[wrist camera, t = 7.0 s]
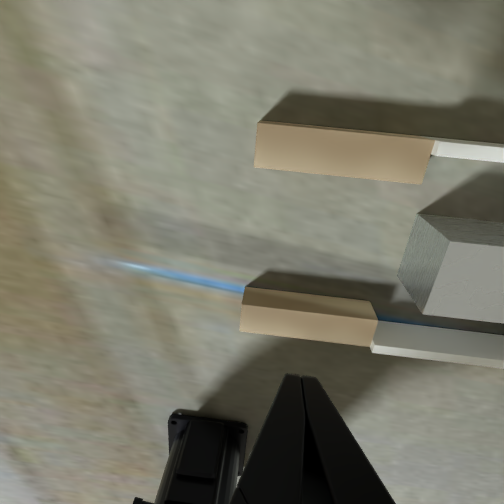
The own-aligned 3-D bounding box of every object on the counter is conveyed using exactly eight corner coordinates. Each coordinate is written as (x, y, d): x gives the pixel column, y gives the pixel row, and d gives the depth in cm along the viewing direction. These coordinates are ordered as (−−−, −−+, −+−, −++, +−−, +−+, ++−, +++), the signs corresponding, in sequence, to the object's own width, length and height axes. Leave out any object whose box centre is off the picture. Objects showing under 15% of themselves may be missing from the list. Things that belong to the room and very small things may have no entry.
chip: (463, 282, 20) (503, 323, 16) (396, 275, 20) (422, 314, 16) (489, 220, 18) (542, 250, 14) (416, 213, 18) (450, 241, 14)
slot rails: (362, 326, 21) (370, 347, 20) (242, 312, 22) (239, 331, 20) (417, 135, 16) (435, 140, 14) (260, 120, 16) (257, 122, 15)
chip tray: (516, 344, 21) (544, 373, 19) (362, 326, 21) (372, 352, 19) (623, 155, 16) (680, 165, 14) (417, 135, 16) (440, 141, 14)
